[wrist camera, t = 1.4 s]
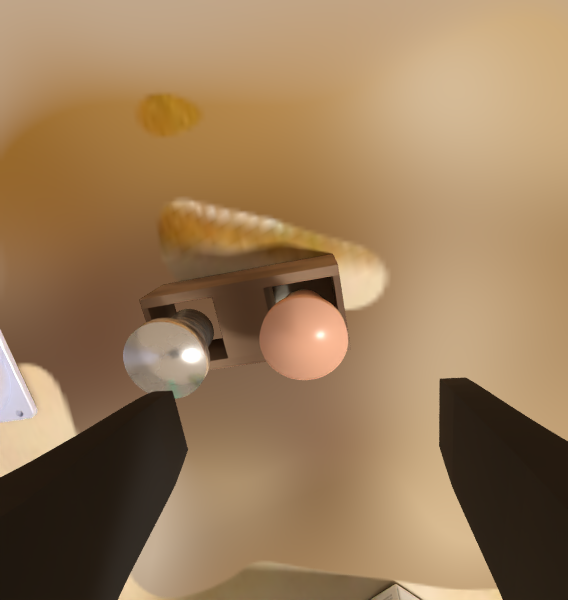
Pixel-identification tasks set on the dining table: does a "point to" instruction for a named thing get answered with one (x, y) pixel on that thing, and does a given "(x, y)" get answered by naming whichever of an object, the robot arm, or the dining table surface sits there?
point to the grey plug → (170, 353)
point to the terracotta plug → (303, 336)
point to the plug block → (241, 303)
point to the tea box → (395, 594)
